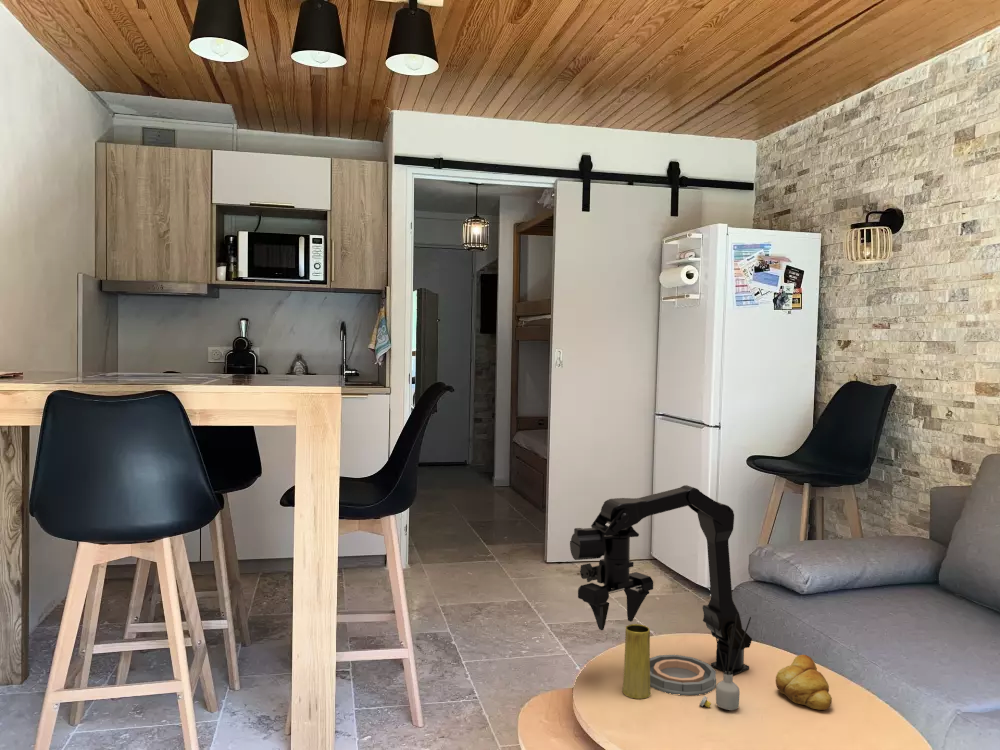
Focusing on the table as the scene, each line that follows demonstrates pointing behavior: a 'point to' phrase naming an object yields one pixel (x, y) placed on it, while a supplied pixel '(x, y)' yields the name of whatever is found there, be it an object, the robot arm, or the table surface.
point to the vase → (637, 662)
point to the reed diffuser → (727, 680)
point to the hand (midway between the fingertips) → (615, 625)
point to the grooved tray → (681, 675)
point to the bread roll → (804, 684)
